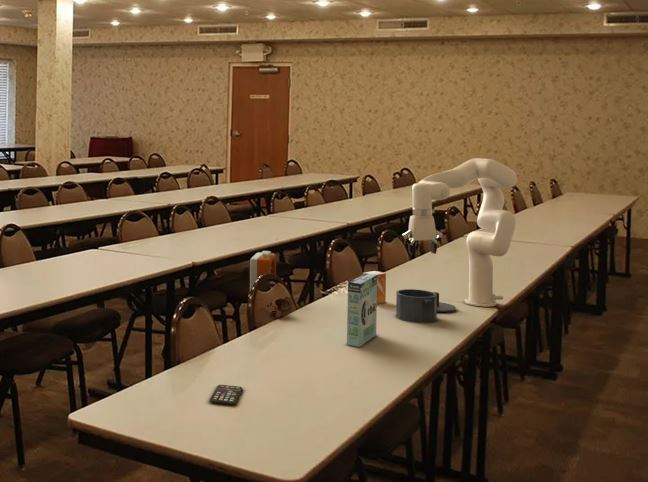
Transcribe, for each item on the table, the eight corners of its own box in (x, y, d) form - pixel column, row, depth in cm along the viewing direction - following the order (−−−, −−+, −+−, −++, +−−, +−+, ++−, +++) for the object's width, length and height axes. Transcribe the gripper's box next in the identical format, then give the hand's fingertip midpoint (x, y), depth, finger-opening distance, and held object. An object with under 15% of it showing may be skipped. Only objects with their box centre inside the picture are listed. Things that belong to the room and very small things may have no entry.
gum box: (364, 333, 311) (364, 272, 310) (377, 335, 308) (378, 274, 307) (346, 345, 295) (346, 281, 295) (360, 347, 292) (360, 283, 292)
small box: (374, 304, 357) (374, 274, 357) (362, 302, 362) (362, 272, 362) (386, 302, 361) (386, 272, 361) (374, 299, 366) (374, 270, 366)
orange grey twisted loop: (291, 314, 342) (295, 299, 337) (286, 329, 334) (290, 314, 330) (263, 304, 345) (266, 290, 341) (258, 319, 337) (261, 304, 333)
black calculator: (242, 386, 248) (234, 403, 234) (242, 389, 248) (234, 405, 234) (218, 384, 250) (209, 400, 236) (218, 386, 250) (209, 402, 236)
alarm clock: (269, 301, 363) (269, 254, 363) (249, 299, 366) (249, 253, 366) (275, 292, 380) (276, 248, 380) (256, 291, 383) (257, 247, 383)
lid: (443, 303, 359) (443, 288, 359) (463, 312, 343) (463, 296, 343) (408, 304, 357) (408, 289, 357) (426, 313, 341) (427, 297, 341)
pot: (421, 311, 346) (421, 287, 345) (447, 323, 325) (447, 298, 325) (386, 312, 344) (387, 288, 344) (410, 324, 323) (410, 299, 323)
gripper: (436, 210, 348) (437, 251, 348) (398, 212, 345) (398, 253, 346) (446, 213, 340) (446, 254, 340) (406, 214, 338) (407, 256, 338)
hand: (422, 253), depth 343 cm, fingers open, 9 cm apart
